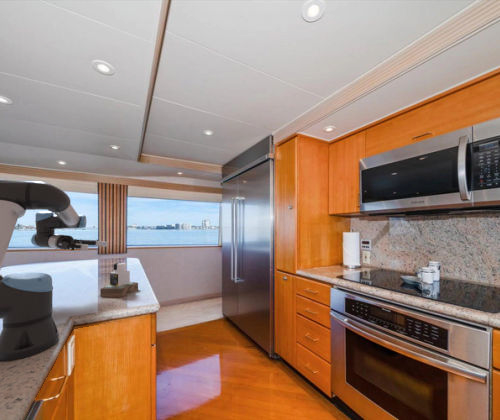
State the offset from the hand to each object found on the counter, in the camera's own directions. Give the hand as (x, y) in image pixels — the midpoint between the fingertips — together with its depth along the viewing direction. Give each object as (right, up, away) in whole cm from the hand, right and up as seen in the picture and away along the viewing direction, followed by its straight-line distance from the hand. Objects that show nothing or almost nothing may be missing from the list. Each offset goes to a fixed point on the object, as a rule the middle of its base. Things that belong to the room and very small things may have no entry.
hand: (97, 245), depth 125 cm
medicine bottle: (+9, -23, +6) cm, 25 cm away
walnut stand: (+9, -27, +5) cm, 29 cm away
